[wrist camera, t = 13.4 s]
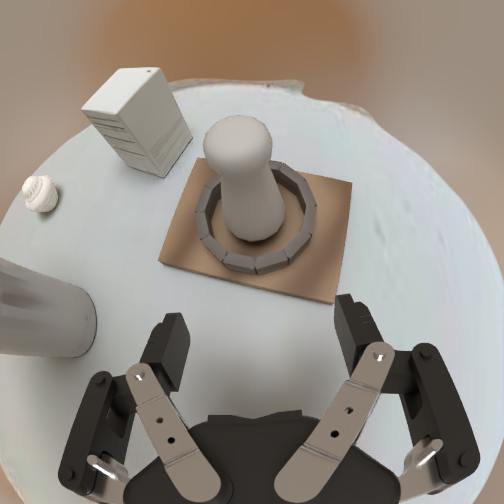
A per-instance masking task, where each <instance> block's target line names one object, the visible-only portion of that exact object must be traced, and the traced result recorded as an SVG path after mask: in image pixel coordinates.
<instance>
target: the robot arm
mask: <svg viewBox="0 0 504 504" xmlns="http://www.w3.org/2000/svg"><path fill="white" fill-rule="evenodd" d="M334 324H335V329H336V333H337V336H338V339H339V342H340V346H341V349H342V352H343V355H344V359H345V362H346V366H347V369H348V372H349V376H350V379H349V380H346V381H345V383H344V384H343V386H342V387H341V389H340V391H339V392H338V394H337V396H336V397H335V399H334V401H333V402H332V404H331V405H330V407H329V408H328V410H327V411H326V413H325V415H324V416H323V418H322V419H321V420H319V419H317V418H314V417H309V416H302V410H295V411H287V412H278V413H274V414H271V415H268V416H264V417H261V418H257V419H249V418H243V417H238V416H233V415H208V421H206V422H203V423H200V424H198V425H195V426H193V427H192V428H189V426H188V425H187V423H186V422H185V420H184V419H183V417H182V416H181V414H180V413H179V411H178V410H177V408H176V406H175V405H174V403H173V401H172V400H171V398H170V397H169V396H170V392H171V391H172V392H178V391H179V387H180V383H181V379H182V374H183V370H184V366H185V362H186V358H187V354H188V350H189V346H190V334H189V331H188V329H187V326H186V324H185V321H184V319H183V316H182V314H181V313H167V314H166V315H165V318H164V320H163V322H162V323H158V324H157V325H156V327H155V328H154V329H153V330H152V332H151V335H150V338H149V340H148V344H147V345H146V347H145V349H144V352H143V354H142V357H141V359H140V362H139V363H138V364H135V365H133V366H132V367H130V368H129V370H128V371H127V373H126V374H125V375H121V376H116V377H112V375H111V374H110V373H109V372H107V371H100V372H98V373H96V374H95V375H93V377H92V378H91V380H90V382H89V384H88V387H87V389H86V392H85V394H84V397H83V399H82V402H81V404H80V407H79V410H78V412H77V415H76V418H75V420H74V423H73V426H72V429H71V432H70V435H69V438H68V441H67V444H66V447H65V450H64V454H63V457H62V460H61V464H60V467H59V471H58V478H59V481H60V483H61V484H62V485H63V486H64V487H65V488H67V489H69V490H71V491H73V492H75V493H76V494H78V495H80V496H82V497H84V498H86V499H88V500H90V501H93V502H97V503H99V504H399V503H401V502H404V501H407V500H410V499H413V498H416V497H419V496H421V495H424V494H429V495H434V494H438V493H440V492H442V491H444V490H445V489H447V488H449V487H451V486H453V485H455V484H456V483H458V482H460V481H461V480H463V479H465V478H466V477H468V476H470V475H471V474H473V473H474V472H475V470H476V469H477V468H478V466H479V463H480V453H479V449H478V446H477V443H476V440H475V437H474V434H473V431H472V428H471V425H470V422H469V420H468V417H467V414H466V412H465V409H464V407H463V404H462V402H461V399H460V397H459V394H458V392H457V390H456V387H455V385H454V383H453V380H452V378H451V376H450V374H449V372H448V370H447V367H446V365H445V363H444V361H443V359H442V357H441V355H440V353H439V351H438V349H437V348H436V347H435V346H433V345H432V344H429V343H420V344H418V345H416V346H415V347H414V348H413V350H412V351H397V350H394V349H393V347H392V346H391V345H389V344H387V343H385V342H384V341H383V338H382V336H381V334H380V332H379V330H378V328H377V326H376V324H375V322H374V320H373V317H372V316H371V313H370V311H369V309H368V307H367V306H365V305H364V304H363V303H362V302H355V303H354V301H353V299H352V297H351V295H350V294H343V295H337V296H335V309H334ZM95 330H96V315H95V309H94V306H93V303H92V301H91V299H90V297H89V296H88V294H87V293H86V292H85V291H84V290H83V289H81V288H79V287H77V286H74V285H71V284H68V283H65V282H62V281H59V280H57V279H54V278H51V277H48V276H45V275H43V274H40V273H37V272H35V271H32V270H30V269H27V268H24V267H22V266H19V265H17V264H14V263H12V262H10V261H7V260H5V259H3V258H0V354H9V355H22V356H40V357H79V356H81V355H83V354H84V353H86V351H87V350H88V349H89V348H90V346H91V344H92V342H93V339H94V336H95ZM381 393H387V394H399V396H400V399H401V403H402V406H403V410H404V413H405V417H406V420H407V424H408V428H409V432H410V436H411V440H412V444H413V448H412V450H411V451H410V452H409V453H408V454H407V455H406V457H405V460H404V470H403V473H402V475H401V476H400V477H397V476H396V475H395V474H394V473H393V472H392V471H391V470H389V469H388V468H386V467H385V466H383V465H382V464H380V463H379V462H378V461H376V460H375V459H373V458H372V457H371V456H369V455H368V454H366V453H365V452H364V451H362V450H361V449H360V448H358V447H357V446H355V444H356V443H357V441H358V439H359V437H360V436H361V434H362V432H363V430H364V428H365V426H366V424H367V422H368V420H369V418H370V416H371V414H372V412H373V410H374V408H375V406H376V404H377V402H378V399H379V397H380V395H381ZM109 409H110V410H109ZM108 412H109V413H108ZM135 413H138V415H139V417H140V419H141V421H142V423H143V425H144V427H145V430H146V432H147V434H148V436H149V438H150V439H151V441H152V443H153V445H154V447H155V449H156V451H157V453H158V454H159V456H158V457H157V458H156V459H155V460H154V461H152V462H151V463H150V464H149V465H148V466H146V467H145V468H144V469H143V470H142V471H140V472H139V473H138V474H137V475H135V476H134V477H133V478H132V479H131V480H130V479H129V477H128V471H127V469H126V468H125V466H124V461H125V456H126V452H127V447H128V442H129V438H130V433H131V429H132V425H133V421H134V417H135ZM107 415H108V416H107ZM106 418H107V419H106Z"/></svg>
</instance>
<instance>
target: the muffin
mask: <svg viewBox="0 0 504 504" xmlns="http://www.w3.org/2000/svg"><path fill="white" fill-rule="evenodd" d="M22 194H23V196H24V197H25V201H26V206H27V208H28V209H29V210H30V211H33V212H48V211H51V210H52V209H53V208H54V207H55V205H56V204H57V201H58V194H57V191H56V188H55V185H54V183H53V182H52V179H51V178H50V177H49V176H47V175H43V176H40V177H39V176H38V177H36V176H31V177H29V178H28V179H27V180H26V181H25V183H24V185H23V187H22Z"/></svg>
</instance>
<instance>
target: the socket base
mask: <svg viewBox="0 0 504 504" xmlns="http://www.w3.org/2000/svg"><path fill="white" fill-rule="evenodd" d="M268 164H269V166H270V169H271V171H272V174H273V176H274V179H275V181H276V184H277V186H278V189H279V191H280V194H281V196H282V199H283V201H284V204H285V217H284V221H283V223H282V224H281V226H280V228H279V229H278V231H277V232H276V233H275V234H273V235H271V236H270V237H268V238H266V239H265V240H259V241H252V242H250V241H247V240H244V239H241V238H238V237H236V236H235V235H234V234H233V233H232V232H231V231H230V230H229V229H227V228H226V225H225V222H224V219H223V215H222V196H221V176H220V175H219V174H218V173H216V172H215V171H214V170H213V169H211V168H210V166H209V165H208V163H207V161H206V159H205V158H197V160H196V162H195V165H194V167H193V169H192V172H191V174H190V176H189V179H188V181H187V183H186V186H185V188H184V191H183V193H182V196H181V198H180V201H179V203H178V206H177V209H176V211H175V214H174V216H173V219H172V222H171V225H170V227H169V230H168V233H167V236H166V238H165V241H164V244H163V247H162V250H161V253H160V256H159V259H158V261H159V262H161V263H162V264H164V265H168V266H172V267H175V268H179V269H183V270H187V271H190V272H194V273H198V274H202V275H206V276H210V277H214V278H218V279H222V280H226V281H230V282H234V283H238V284H242V285H246V286H250V287H255V288H259V289H263V290H267V291H272V292H276V293H280V294H285V295H289V296H294V297H298V298H303V299H307V300H312V301H316V302H321V303H326V304H331V305H332V304H333V303H334V302H335V296H336V292H337V287H338V282H339V276H340V271H341V265H342V259H343V253H344V246H345V239H346V232H347V225H348V217H349V209H350V200H351V191H352V183H351V182H346V181H342V180H337V179H333V178H328V177H323V176H318V175H313V174H308V173H303V172H298V171H294V170H293V169H292V168H290V167H289V166H287V165H286V164H285V163H283V164H282V162H278V161H271V160H270V161H269V162H268Z"/></svg>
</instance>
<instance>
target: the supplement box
mask: <svg viewBox="0 0 504 504" xmlns="http://www.w3.org/2000/svg"><path fill="white" fill-rule="evenodd" d="M81 111H82V112H83V113H84V114H85V116H86V117H87V118H88V119H89V120H90V122H91V123H92V124H93V125H94V127H95V128H96V129H97V130H98V131H99V133H100V134H101V135H102V136H103V137H104V139H105V140H106V141H107V142H108V143H109V145H110V146H111V147H112V148H113V149H114V151H115V152H116V153H117V154H118V155H119V156H120V158H121V159H122V160H123V161H124V162H125V164H126V165H127V166H130V167H133V168H136V169H138V170H141V171H144V172H147V173H150V174H153V175H156V176H159V177H162V178H165V176H166V175H167V173H168V172H169V170H170V169H171V167H172V166H173V164H174V163H175V161H176V160H177V159H178V157H179V156H180V154H181V153H182V151H183V150H184V149H185V147H186V146H187V144H188V143H189V142H190V140H191V139H192V138H193V137H192V135H191V133H190V131H189V128H188V126H187V124H186V122H185V120H184V118H183V116H182V113H181V111H180V109H179V107H178V105H177V103H176V101H175V98H174V96H173V94H172V92H171V90H170V88H169V86H168V83H167V81H166V79H165V77H164V75H163V72H162V70H161V68H125V69H119V70H117V71H116V72H115V73H114V74H113V75H112V77H110V78H109V79H108V81H106V83H104V85H103V86H102V87H101V88H100V89H99V90H98V91H97V92H96V93H95V94H94V95H93V96H92V97H91V98H90V99H89V101H88V102H87V103H86V104H85V105H84V106H83V108H81Z"/></svg>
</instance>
